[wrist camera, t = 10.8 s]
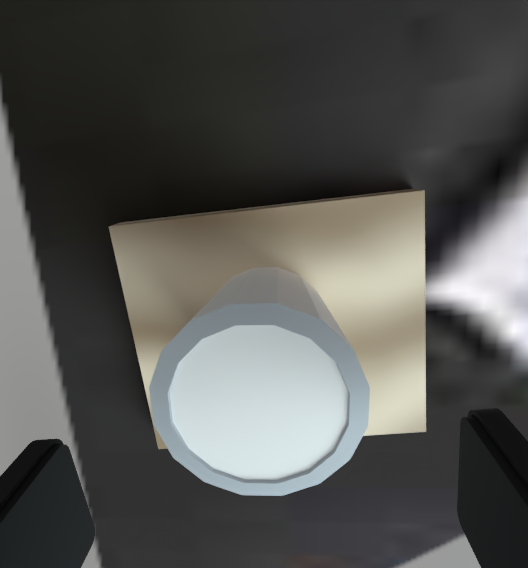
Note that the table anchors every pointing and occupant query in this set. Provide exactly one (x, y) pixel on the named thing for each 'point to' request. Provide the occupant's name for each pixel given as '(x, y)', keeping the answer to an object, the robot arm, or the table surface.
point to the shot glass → (261, 388)
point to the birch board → (309, 265)
